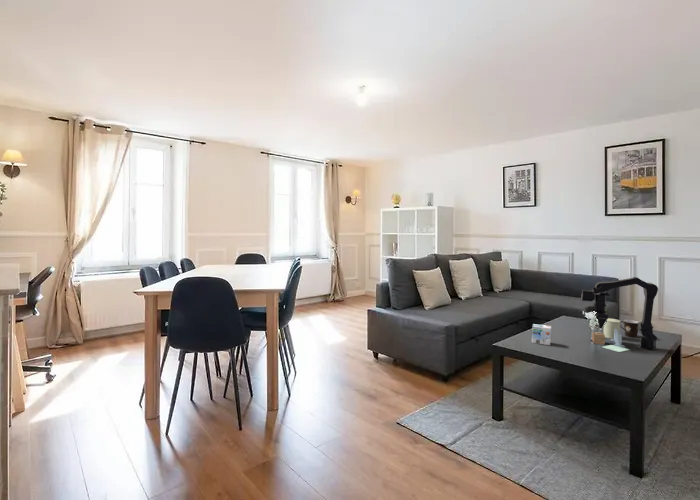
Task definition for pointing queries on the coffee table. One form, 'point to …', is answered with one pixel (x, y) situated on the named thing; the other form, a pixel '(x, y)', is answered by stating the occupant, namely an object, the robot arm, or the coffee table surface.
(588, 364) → the coffee table surface
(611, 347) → the mat
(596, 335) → the letter cube
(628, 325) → the coffee mug
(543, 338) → the light bulb box
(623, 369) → the coffee table surface
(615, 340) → the screen
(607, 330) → the can
